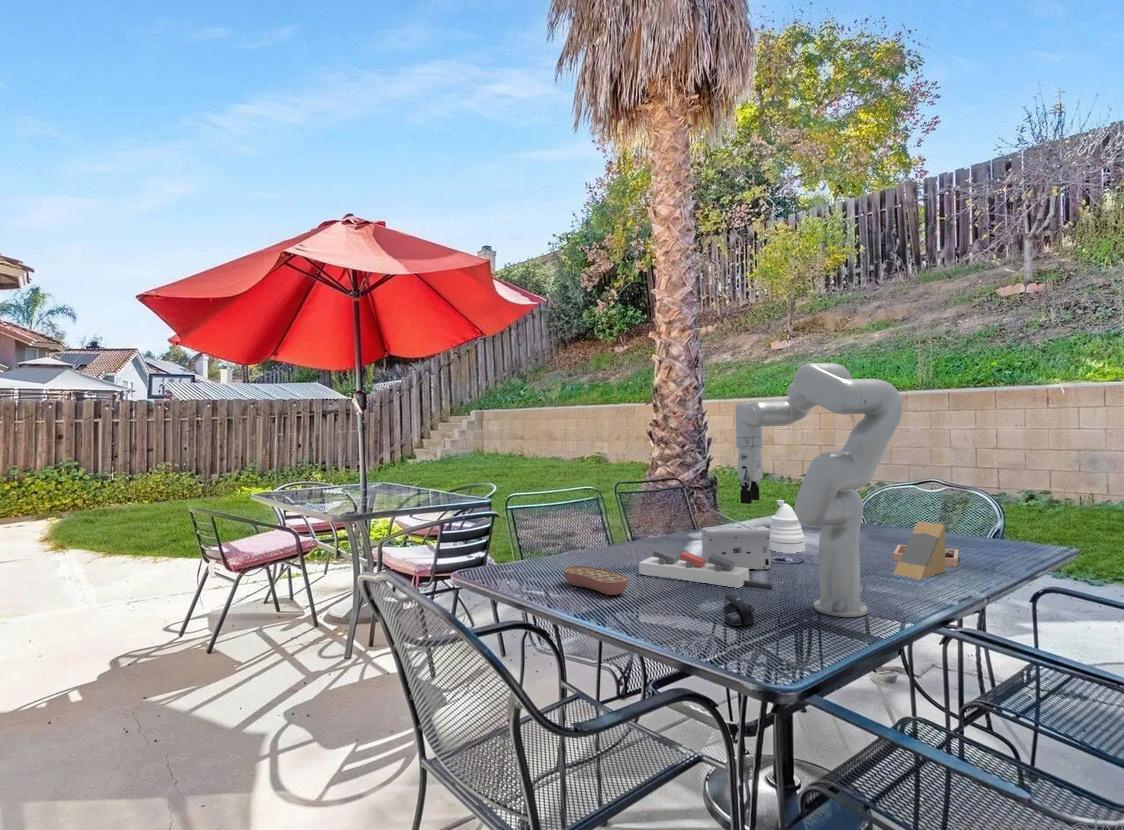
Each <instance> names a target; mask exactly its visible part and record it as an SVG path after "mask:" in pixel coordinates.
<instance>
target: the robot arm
mask: <svg viewBox="0 0 1124 830" xmlns="http://www.w3.org/2000/svg"><path fill="white" fill-rule="evenodd" d="M786 391H787V392H786V393H787V398H785V399H783V400H756V401H743V402H739V403H736V405H735V408H734V409H735V411H734V412H735V440H736V441H735V445H736V446H735V449H738V454H737V456H738V457H737V477H738V480H739V485H740V486H739V490H740V497H739V498H740V504H748V505H751V504H752V503H753V501H759V500H760V482H759V481H760V480H762V479H763V478H764V475H763V474H764V473H763V470H764V469H763V458H762V451H761V449H762V448H763V436H762V435H763V434H762V433H763V431H762V429H763V428H766V427H767V428H768V427H784V426H789V425H791V424H794V423H796V422H797V421H800V420H802V419H804V418H806V417H807V416H808V414H809V413H810V411H811V409H813V408H814V407H817V406H820V407H821V408H824V409H825V410H827V411H830V412H831V413H833V414H838V415H864V416H863V417H862V419H861V420H859V421H858V423H857V424H856V425H855V426H854V427H853V428H852V429H851V432H849V435H848V438H847V441H846V443H845V445H844V446H843V447H842V448H841V449H839V450H835V451H827V452H823V453H820V454H818V455H816V456H815V458H813V460H811V462H810V464H809V465H808V468H807V470H806V472H805V474H804V477H803V480H802V482H801V485H800V487H799V490H798V492H797V493H796V497H795V501H794V512H795V514H796V516H797V518H798V520H799V523H801V524H802V525H804V526H807V527H810V528H818V527H819V528H820V527H821V530H820V533H819V539H818V557H819V559H818V560H819V562H818V563H819V565H818V566H819V599H816V600H815V601H814V602H813V608H814V609H815V611H817V612H819V613H821V614H825V615H827V616H832V617H841V618H858V617H863V616H865V615H867V614H868V612H869V611H868V607H867V606H866V605H865V604H864V603H862V602H861V558H860V556H861V555H860V551H861V550H860V549H861V548H860V547H861V546H860V545H861V543H860V540H861V539H860V537H861V526H862V521H863V520H862V518H863V514H864V502H863V498H862V497H861V495H860V493H859V492H858V491H857V490H855V489H860V488H864V487H866V486H868V484H869V483H870V482H871V480H872V478H873V477H874V475H875V472H876V470H877V468H878V465H879V464H880V462H881V459H882V457H883V455H884V454H885V450H886V448H887V446H888V444H889V442H890V441H891V438H892V437H893V436H894V434H895V432H896V430H897V428H898V426H899V425H900V421H901V419H902V415H903V401H902V397H901V395H900V393H899V391H898V389H897V388H896V387H895V386H894V385H893V384H892V383H890V382H887V381H886V380H882V379H877V378H852V377H851V373H850V371H849V370H848V368H846V367H845V366H844V365H841V364H840V363H839V364H838V363H834V362H832V363H831V362H809V363H806V364H803V365H801V366H800V367H799V368H798V369H797V370H796V371H795V373H794V376H793V382H791V383H790V384H789V385H788V387H787V390H786Z"/></svg>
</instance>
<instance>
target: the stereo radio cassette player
mask: <svg viewBox="0 0 1124 830" xmlns="http://www.w3.org/2000/svg"><path fill="white" fill-rule="evenodd" d="M710 511H712V512H714V513H716V514H718V515H721V516H722V517H724V518H726V519H728V520H730V521H732V522H734V523H737V524H739V525H740V526H714V527H703V528H701V550H702V551H701V552H702V553H701V555H702V558H704V559H707V560H706V563H708V564H711V563H709V562H708V559H709V557H710V556H712V555H713V554H714V555H717V556H719V557H722V558H725V559H727V560H730V561H732V562H735V567H742V568H749V569H755V570H765V569H767V570H769V568H770V567H771V551H770V528H768V527H767V526H764V525H757V526H756V525H752V526H751V525H746V524H744V523H742V522H740V521H738V520H735V519H733V518H731V517H728V516H727V515H724V514H722V513H720V512H718V511H715V510H713V509H712V508H711V509H710Z"/></svg>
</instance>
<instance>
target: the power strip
mask: <svg viewBox="0 0 1124 830" xmlns="http://www.w3.org/2000/svg"><path fill="white" fill-rule="evenodd" d="M638 574H644V575H653V576H660V577H670V578H677V579H683V580H689V581H696V582H702V583H709V584H716V585H722V586H728V587H735V588H734V589H736V588H740V587H742V586H743V585H744V584H746V585H744V586H751V585H753V586H754V587H759V586H760V587H761V588H766V587H767V588H768V589H773V587H774V585H773V583H769V582H768V583H767V582H761V581H752V580H750V570H749V568H742V567H734V568H733V569H732V570H730V571H729V570H727V569H724V568H722V567H721V566H719V565H714V564H708V563H706V564H705V565H703V566H702V567H699V566H696V565H694V564H692V562H686V561H684V560H681V559H678V561H677V562H675V563H673V564H672V563H670V562H667V561H665V560H664V559H660V558H657V557H655V556H650V557H648V558H645V559H644V560H641V561H639V562H638ZM744 586H743V587H744ZM753 586H752V587H753ZM728 587H727V588H728ZM743 587H742V588H743ZM740 589H741V588H740Z"/></svg>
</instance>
